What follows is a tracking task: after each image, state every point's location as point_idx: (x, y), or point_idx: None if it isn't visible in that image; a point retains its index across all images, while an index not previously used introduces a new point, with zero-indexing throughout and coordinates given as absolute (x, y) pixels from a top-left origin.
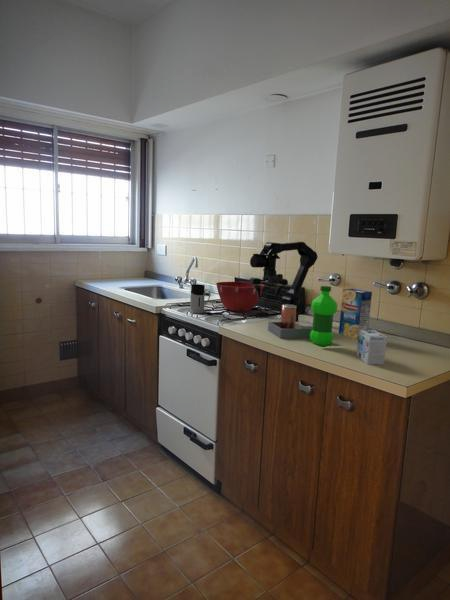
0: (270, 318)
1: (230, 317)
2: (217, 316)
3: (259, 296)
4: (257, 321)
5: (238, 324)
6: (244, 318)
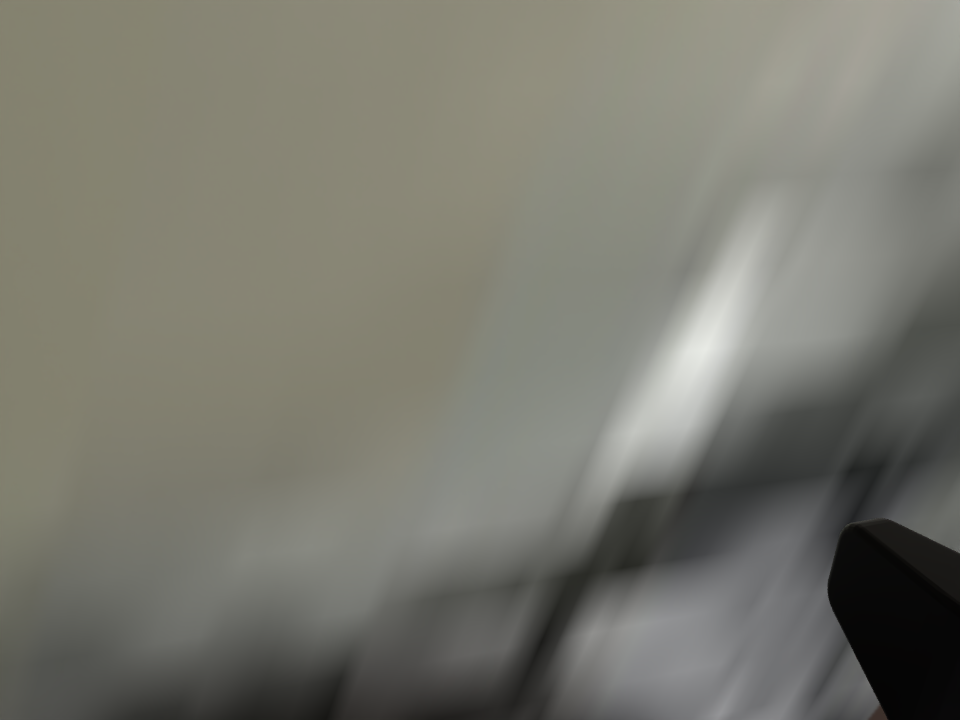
0: (62, 656)
1: (782, 597)
2: None
3: (943, 569)
4: (426, 374)
5: (923, 76)
6: (588, 571)
